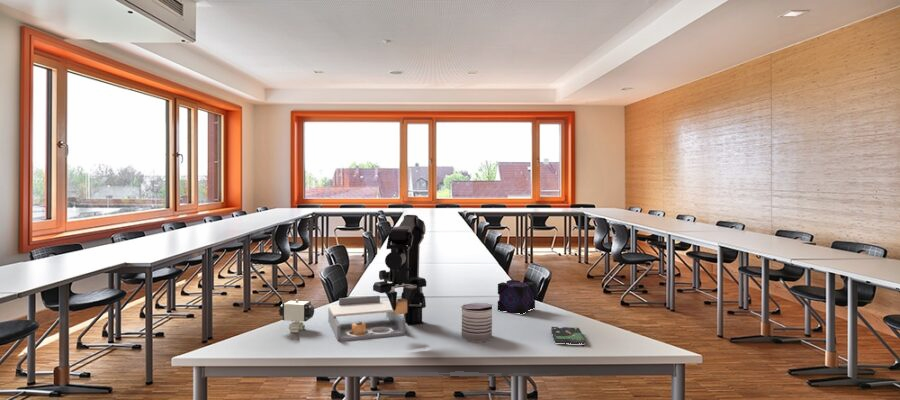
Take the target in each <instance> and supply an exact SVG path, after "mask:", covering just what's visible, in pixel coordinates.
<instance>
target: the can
mask: <svg viewBox="0 0 900 400" xmlns="http://www.w3.org/2000/svg"><path fill="white" fill-rule="evenodd" d="M493 306H494V304H492V303H488V302H472V303H465V304H462V305H461V306H460V308H461V340H464V341H466V340H467V341H466V342H470V341H473V342H472V343H483V342H482V341H487V340H489V341H491V340H490V339H493V337H492V336H493V331H492V330H493ZM487 342H488V341H487Z"/></svg>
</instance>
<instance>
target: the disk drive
mask: <svg viewBox="0 0 900 400" xmlns="http://www.w3.org/2000/svg"><path fill="white" fill-rule="evenodd" d="M550 331H551V332H552V333H551V335H552V334H553V336H552V339H553V338H554V339H553V342H554V341H555V343H565V344H566V343H569V344H570V343H571V344H579V343H580V344H581V343H582V344H584V343H585V344H586V340H585V337H584V334H583V333H582V331H581V329H580V327H568V326H567V327H566V326H562V327H558V326H551V330H550ZM555 343H554V344H555Z"/></svg>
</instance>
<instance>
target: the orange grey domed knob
mask: <svg viewBox="0 0 900 400" xmlns="http://www.w3.org/2000/svg"><path fill="white" fill-rule="evenodd" d="M366 323H367V322H363V321H360V320H359V321H358V320H357V321H355V322H353V323H351V324H352V335H364V334H366Z"/></svg>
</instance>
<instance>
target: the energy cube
mask: <svg viewBox="0 0 900 400" xmlns="http://www.w3.org/2000/svg"><path fill="white" fill-rule="evenodd" d="M497 294H498V295H499V296H498V300H497V311H498V310H500V311H509V312H508V313H512V314H513V313H520V314H523V313H525V312H526V311H528V310H530V309H533V308H535V309H536V299H534V298H535V297H534V295H535V294H536V282H532V281H525V282H522V281H521V280H516V279H508V280H506V282H499V283H497ZM500 311H499V312H500ZM528 312H529V311H528Z"/></svg>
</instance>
